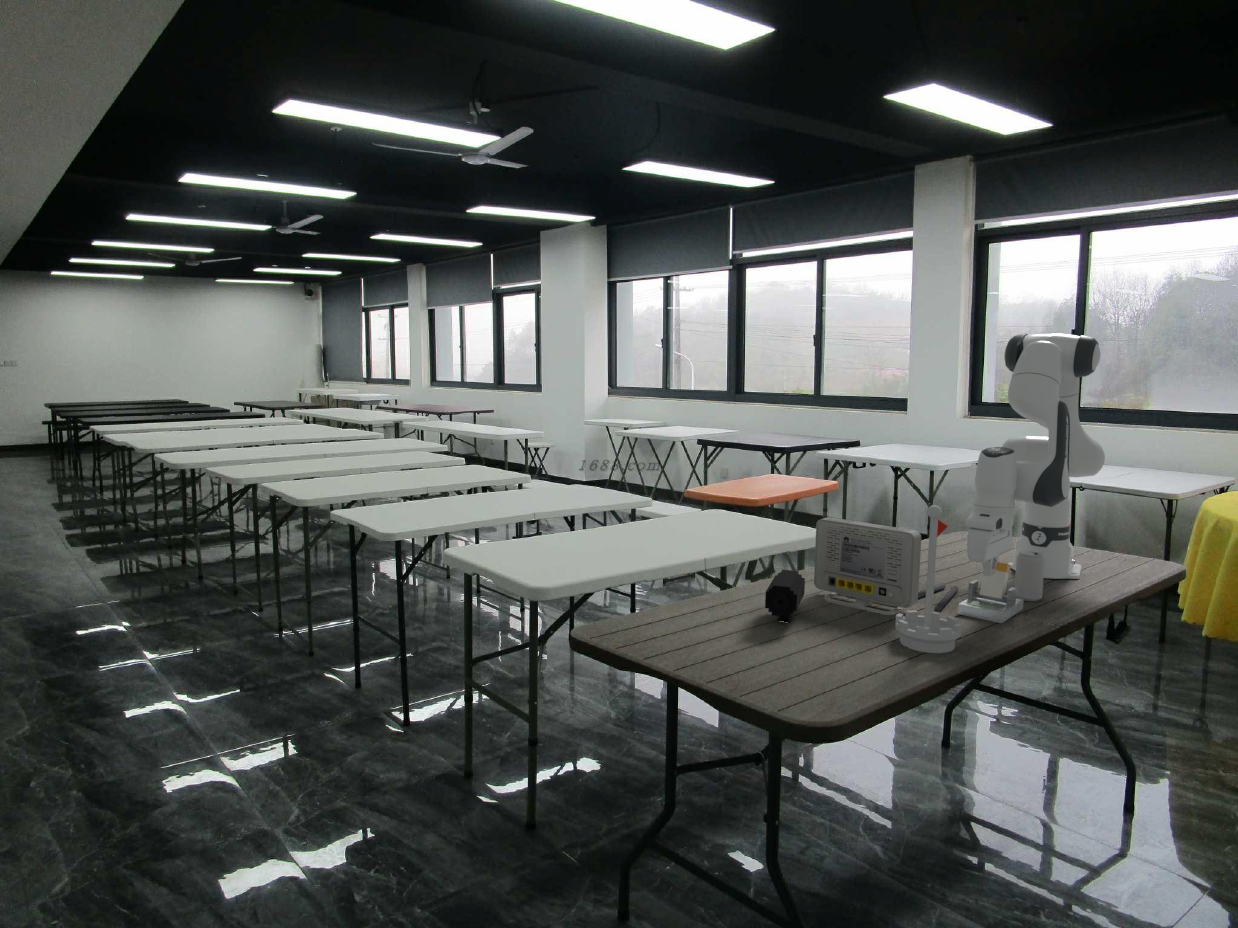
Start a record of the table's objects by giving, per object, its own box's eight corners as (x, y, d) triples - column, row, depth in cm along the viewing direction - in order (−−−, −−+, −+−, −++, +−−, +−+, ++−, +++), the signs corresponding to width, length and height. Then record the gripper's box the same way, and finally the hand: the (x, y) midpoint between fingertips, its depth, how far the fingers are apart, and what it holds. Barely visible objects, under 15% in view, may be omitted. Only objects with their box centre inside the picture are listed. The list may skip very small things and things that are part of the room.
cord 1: (940, 587, 216) (940, 582, 216) (945, 588, 215) (945, 583, 215) (904, 601, 204) (904, 595, 204) (909, 602, 203) (909, 597, 203)
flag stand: (936, 659, 165) (945, 513, 161) (882, 641, 175) (889, 503, 171) (972, 646, 172) (981, 506, 168) (918, 629, 183) (925, 497, 179)
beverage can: (1045, 602, 204) (1048, 556, 202) (1017, 601, 205) (1020, 554, 203) (1037, 595, 210) (1041, 550, 208) (1010, 594, 211) (1014, 548, 210)
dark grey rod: (952, 590, 214) (952, 585, 214) (958, 591, 213) (958, 586, 213) (933, 612, 195) (933, 606, 195) (939, 613, 194) (939, 607, 194)
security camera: (805, 608, 197) (806, 568, 196) (795, 632, 180) (796, 588, 179) (776, 605, 200) (777, 565, 198) (763, 629, 182) (765, 585, 181)
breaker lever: (977, 597, 199) (983, 560, 200) (1008, 603, 194) (1015, 565, 195) (974, 596, 197) (980, 559, 198) (1005, 602, 192) (1012, 564, 193)
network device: (921, 611, 196) (925, 529, 193) (905, 619, 190) (910, 535, 187) (825, 590, 213) (828, 515, 211) (807, 597, 207) (810, 519, 204)
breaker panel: (980, 600, 205) (982, 575, 204) (1022, 609, 198) (1024, 583, 198) (957, 613, 194) (959, 587, 193) (1001, 623, 187) (1003, 595, 187)
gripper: (994, 510, 200) (990, 565, 202) (963, 520, 186) (959, 579, 187) (1021, 513, 196) (1017, 569, 198) (992, 524, 181) (988, 585, 183)
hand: (988, 574), depth 192 cm, fingers closed
